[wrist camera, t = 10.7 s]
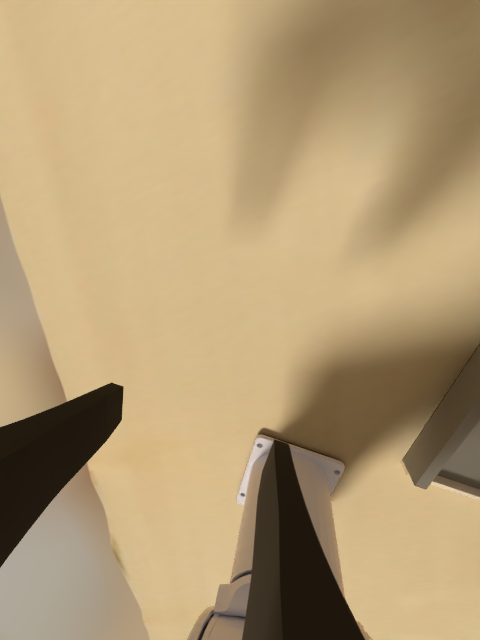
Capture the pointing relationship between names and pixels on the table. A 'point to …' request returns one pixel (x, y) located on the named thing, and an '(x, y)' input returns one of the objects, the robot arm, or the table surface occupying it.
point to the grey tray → (451, 439)
